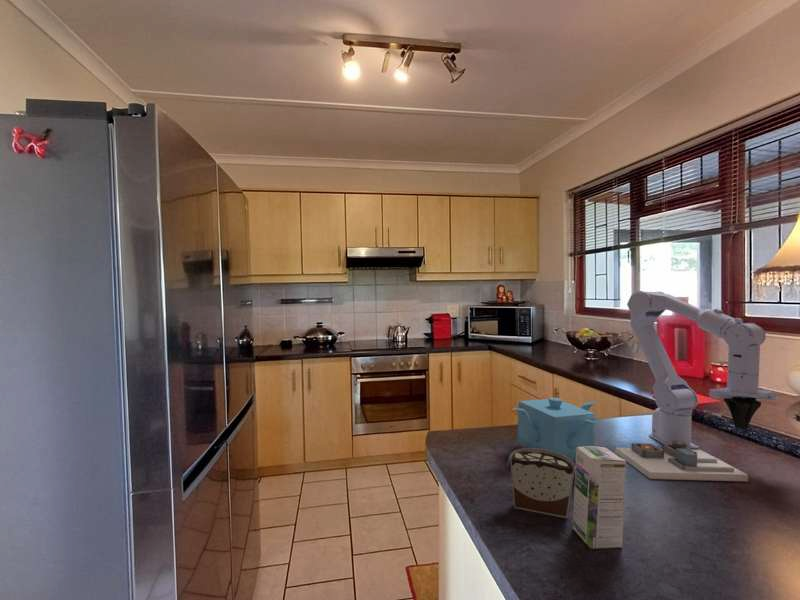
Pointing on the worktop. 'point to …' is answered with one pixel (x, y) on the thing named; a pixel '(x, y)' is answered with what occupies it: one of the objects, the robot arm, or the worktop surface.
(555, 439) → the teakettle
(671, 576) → the worktop surface
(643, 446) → the copper button
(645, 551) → the worktop surface
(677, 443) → the black button
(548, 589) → the worktop surface
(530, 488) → the food container
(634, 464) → the control panel
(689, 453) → the block
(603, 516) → the syrup box
